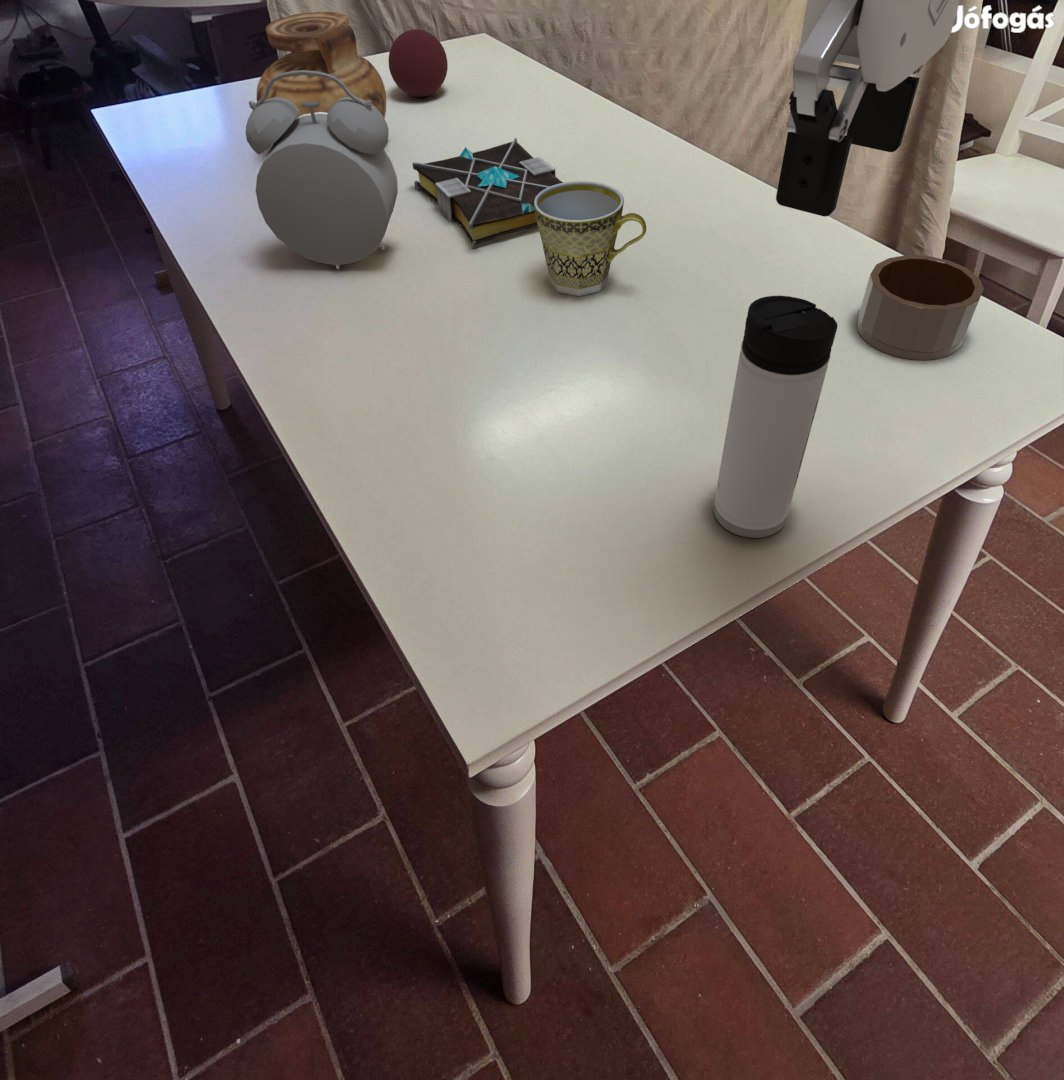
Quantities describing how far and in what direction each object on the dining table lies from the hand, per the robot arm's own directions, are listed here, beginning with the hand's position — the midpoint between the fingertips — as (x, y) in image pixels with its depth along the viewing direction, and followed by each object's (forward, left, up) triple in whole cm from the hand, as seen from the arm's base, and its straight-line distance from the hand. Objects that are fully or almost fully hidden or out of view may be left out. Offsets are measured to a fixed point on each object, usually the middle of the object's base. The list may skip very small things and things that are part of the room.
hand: (839, 175), depth 47 cm
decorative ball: (+109, -34, -31) cm, 118 cm away
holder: (+11, -36, -30) cm, 48 cm away
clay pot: (+98, -11, -31) cm, 103 cm away
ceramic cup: (+41, -16, -31) cm, 53 cm away
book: (+66, -20, -31) cm, 75 cm away
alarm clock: (+66, +4, -31) cm, 73 cm away
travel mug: (+2, -2, -31) cm, 31 cm away
